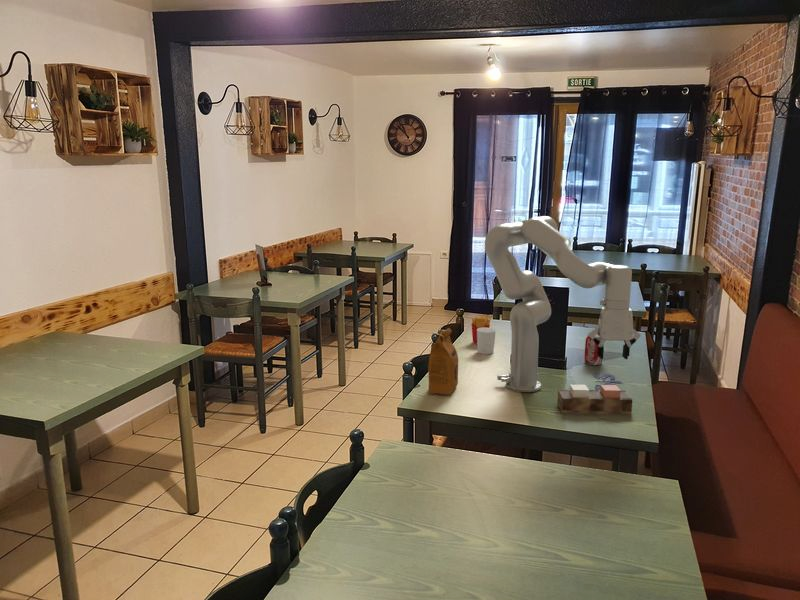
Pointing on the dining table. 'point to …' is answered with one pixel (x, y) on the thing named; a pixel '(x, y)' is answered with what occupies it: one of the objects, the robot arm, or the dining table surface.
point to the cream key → (579, 391)
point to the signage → (606, 381)
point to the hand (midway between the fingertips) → (612, 357)
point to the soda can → (592, 351)
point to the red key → (610, 391)
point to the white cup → (485, 340)
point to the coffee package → (443, 365)
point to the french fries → (479, 325)
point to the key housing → (594, 403)
